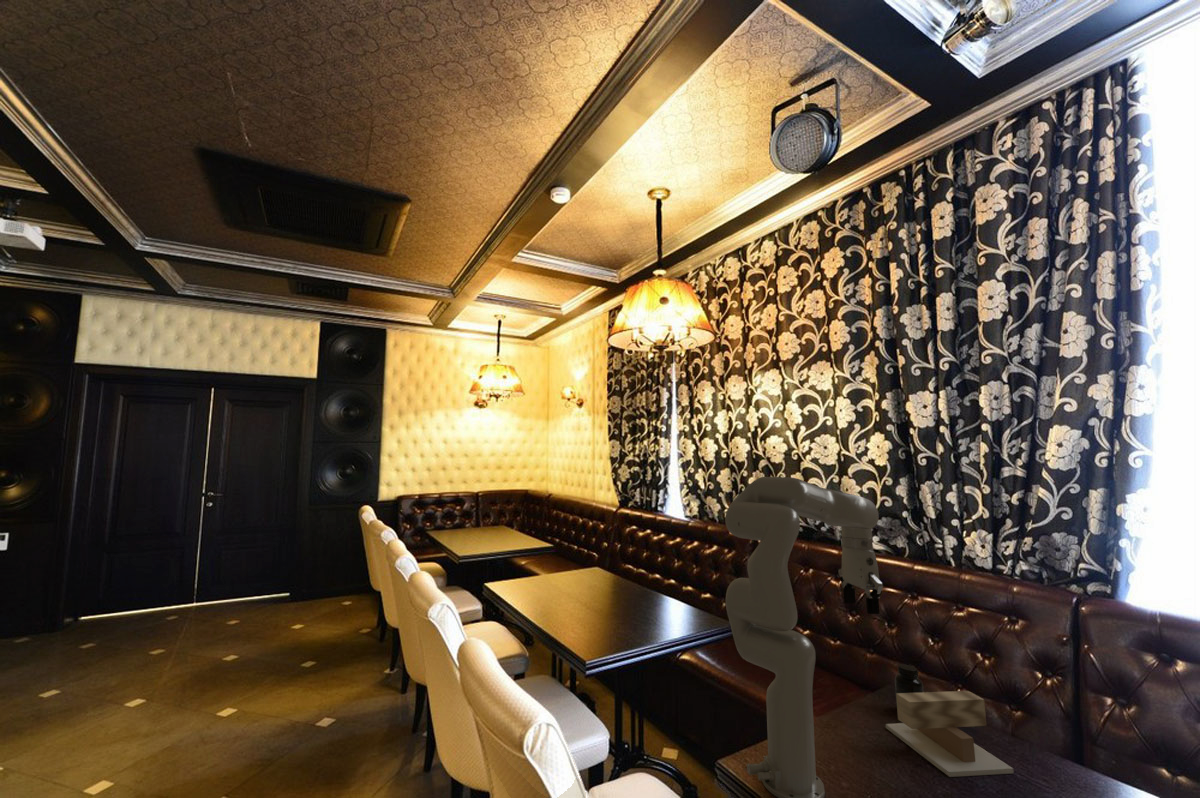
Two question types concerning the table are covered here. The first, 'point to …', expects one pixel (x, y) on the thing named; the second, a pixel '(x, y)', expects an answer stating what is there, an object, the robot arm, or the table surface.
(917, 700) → the birch beam
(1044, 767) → the table surface
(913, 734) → the board
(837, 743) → the table surface
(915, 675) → the supplement bottle
